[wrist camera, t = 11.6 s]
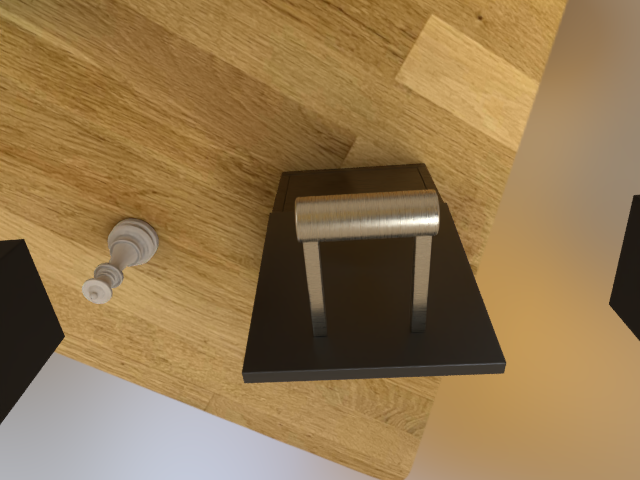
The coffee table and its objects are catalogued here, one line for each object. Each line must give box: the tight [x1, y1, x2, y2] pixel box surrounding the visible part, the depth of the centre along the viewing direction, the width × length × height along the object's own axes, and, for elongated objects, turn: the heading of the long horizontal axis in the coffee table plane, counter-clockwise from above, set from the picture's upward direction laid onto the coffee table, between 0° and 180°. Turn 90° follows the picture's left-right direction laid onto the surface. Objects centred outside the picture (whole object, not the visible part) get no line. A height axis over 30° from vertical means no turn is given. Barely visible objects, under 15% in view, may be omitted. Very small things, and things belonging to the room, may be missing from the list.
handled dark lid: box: [242, 189, 506, 383], centre depth 27 cm, size 14×13×9 cm
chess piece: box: [82, 218, 159, 304], centre depth 43 cm, size 4×4×10 cm
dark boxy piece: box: [272, 164, 444, 213], centre depth 43 cm, size 14×13×9 cm
